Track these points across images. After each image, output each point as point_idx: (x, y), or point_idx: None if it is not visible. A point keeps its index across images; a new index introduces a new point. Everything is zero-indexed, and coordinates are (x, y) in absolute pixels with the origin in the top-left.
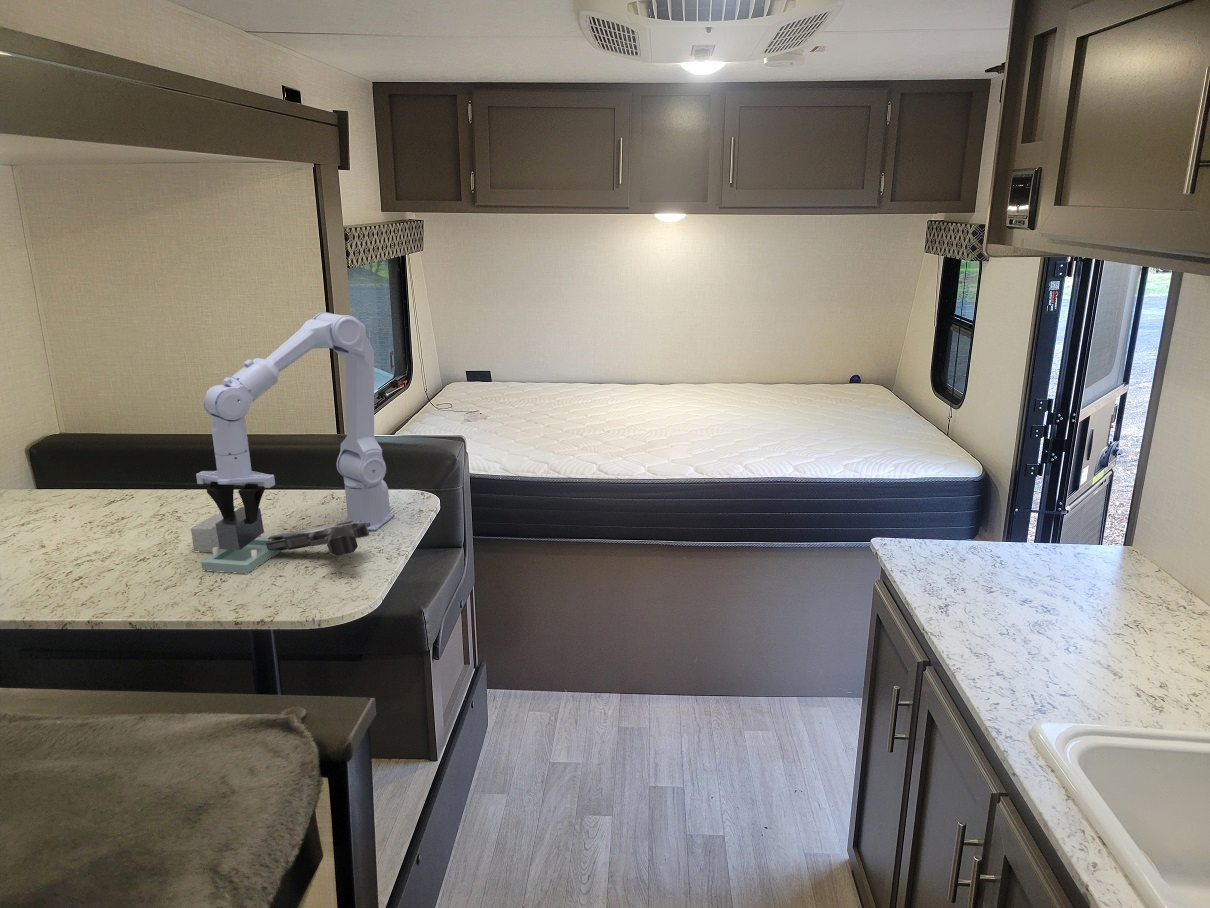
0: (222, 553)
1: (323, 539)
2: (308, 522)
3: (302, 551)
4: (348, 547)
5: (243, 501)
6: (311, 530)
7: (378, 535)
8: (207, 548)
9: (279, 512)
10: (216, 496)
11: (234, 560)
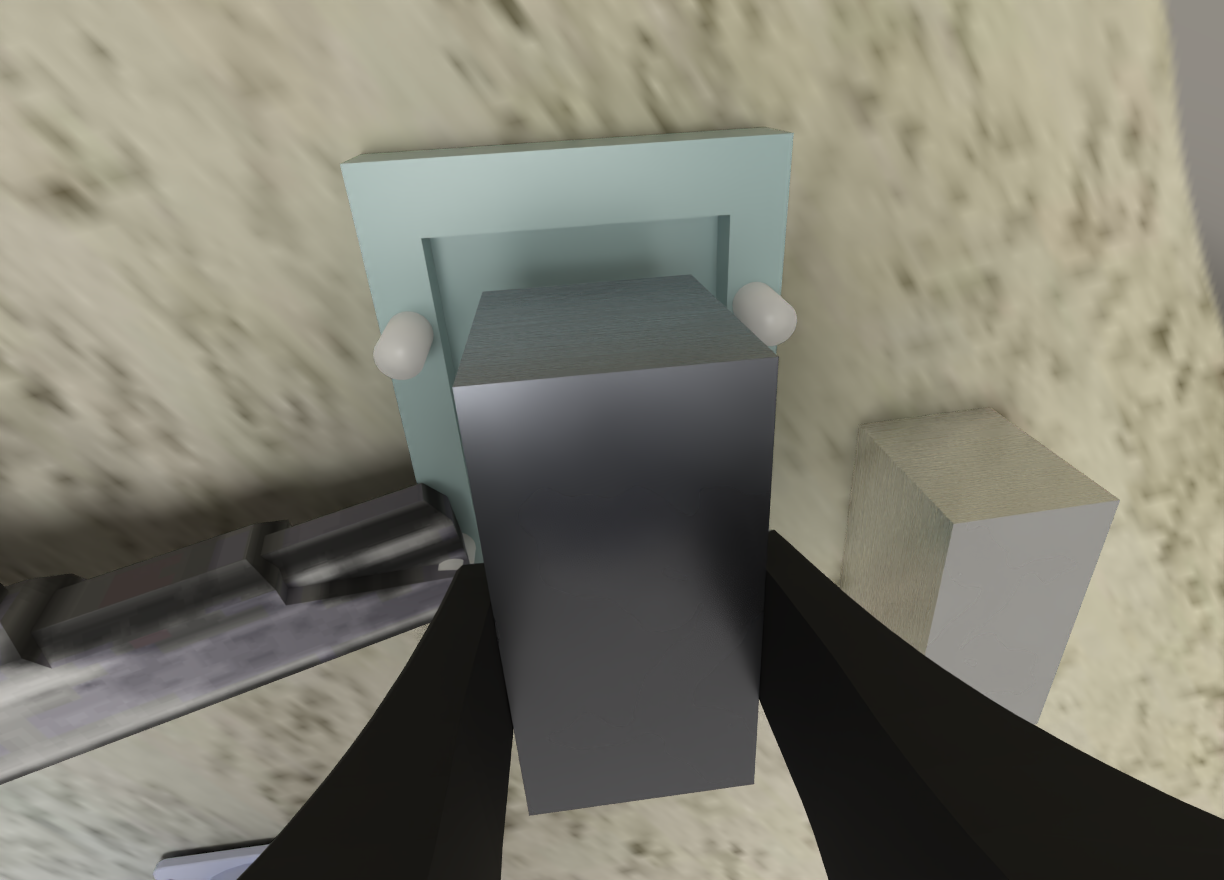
0: None
1: None
2: (585, 832)
3: None
4: None
5: (417, 825)
6: (57, 703)
7: (95, 831)
8: (911, 435)
9: (792, 860)
10: (1020, 811)
11: None
